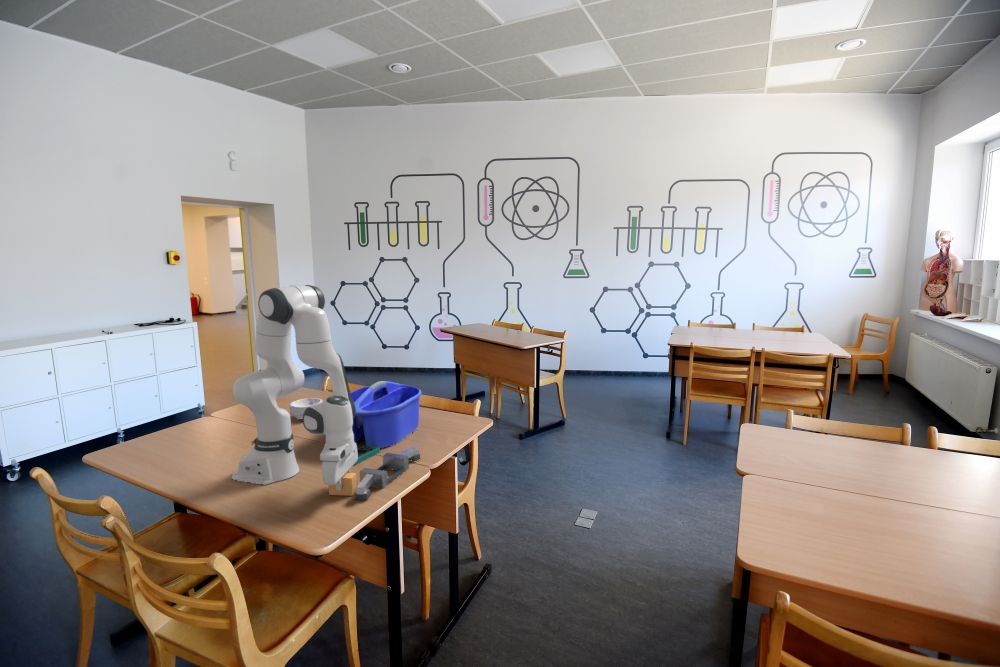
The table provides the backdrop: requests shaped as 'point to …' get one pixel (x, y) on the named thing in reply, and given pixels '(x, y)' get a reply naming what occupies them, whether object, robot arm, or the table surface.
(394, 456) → the grey long piece
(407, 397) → the caddy
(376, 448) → the digital multimeter
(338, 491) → the light orange rectangular block
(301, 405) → the paper bowls
